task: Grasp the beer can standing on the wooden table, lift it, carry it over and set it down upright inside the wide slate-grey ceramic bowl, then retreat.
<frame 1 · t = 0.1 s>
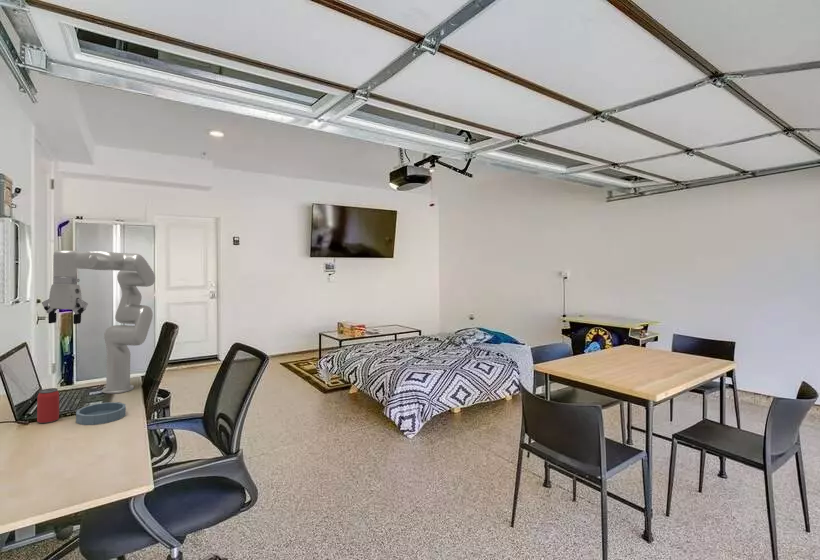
hand: (64, 323, 172), 37 cm above the table, tool pointing down, fingers open, 9 cm apart
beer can: (48, 421, 165), on the table
bowl: (101, 417, 170), on the table
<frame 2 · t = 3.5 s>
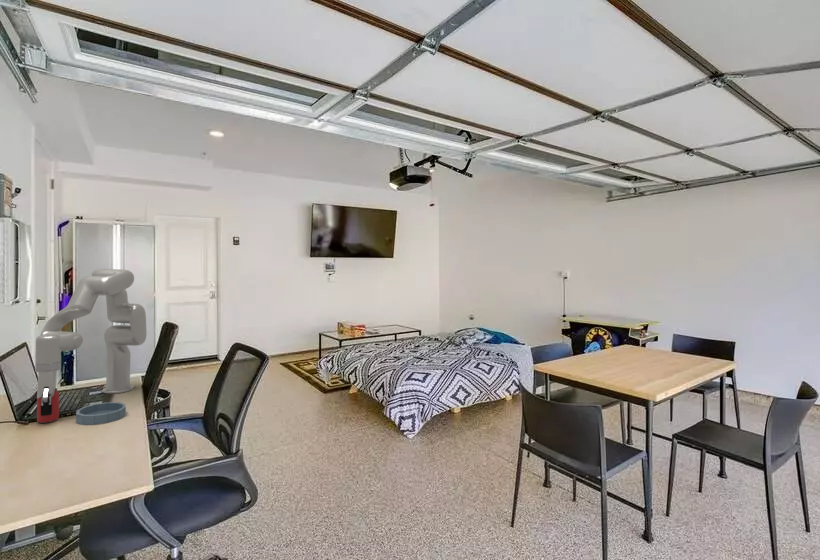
hand: (47, 411, 165), 3 cm above the table, tool pointing down, fingers closed on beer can, 6 cm apart
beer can: (48, 421, 165), on the table, touching gripper
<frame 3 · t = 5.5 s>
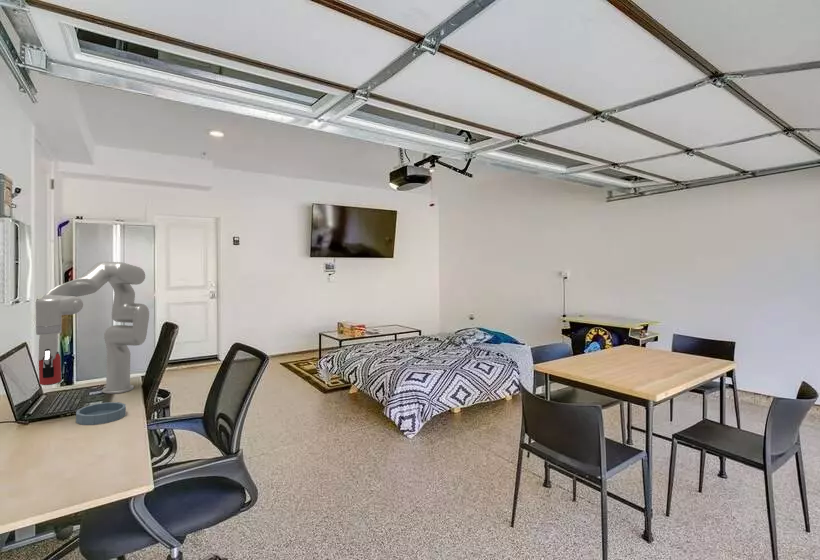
hand: (49, 374, 165), 18 cm above the table, tool pointing down, fingers closed on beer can, 6 cm apart
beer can: (50, 383, 166), point 14 cm above the table, touching gripper
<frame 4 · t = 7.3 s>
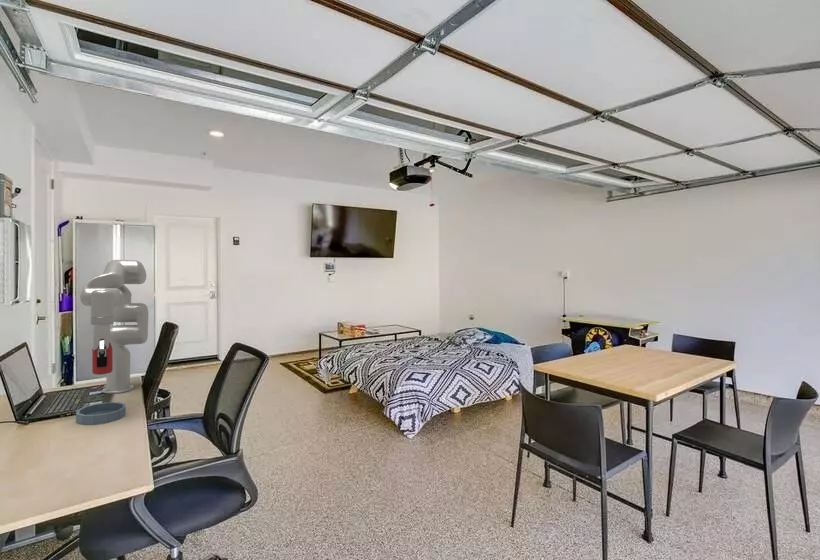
hand: (102, 364, 170), 21 cm above the table, tool pointing down, fingers closed on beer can, 6 cm apart
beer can: (102, 373, 170), point 18 cm above the table, touching gripper
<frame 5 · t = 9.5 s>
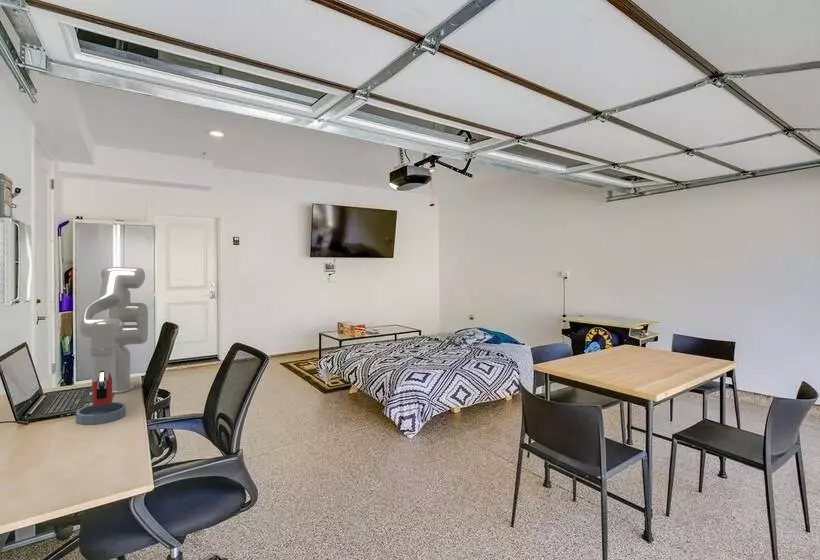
hand: (101, 395, 170), 9 cm above the table, tool pointing down, fingers closed on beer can, 6 cm apart
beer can: (102, 404, 170), point 5 cm above the table, touching gripper
when the fingers open (5 cm above the table, at t = 11.3 s): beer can stays where it is, resting on bowl.
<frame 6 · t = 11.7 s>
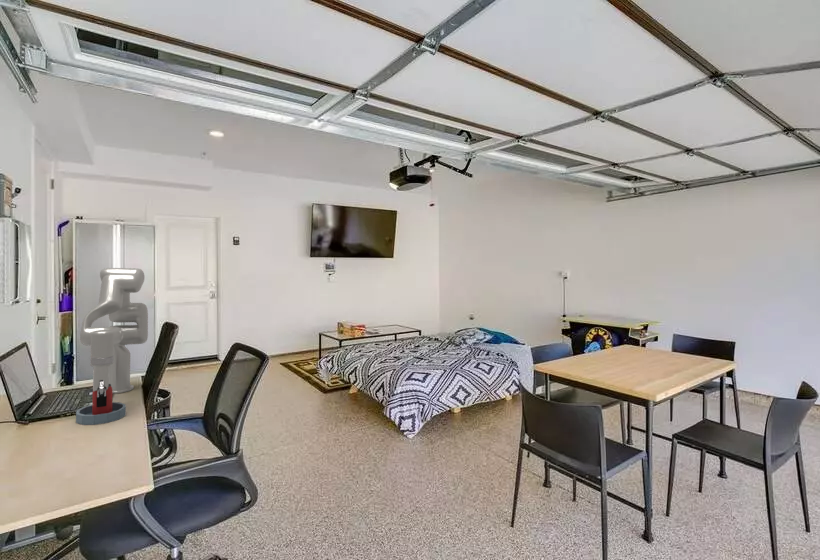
hand: (101, 403, 170), 6 cm above the table, tool pointing down, fingers open, 9 cm apart
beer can: (102, 415, 171), point 1 cm above the table, touching bowl
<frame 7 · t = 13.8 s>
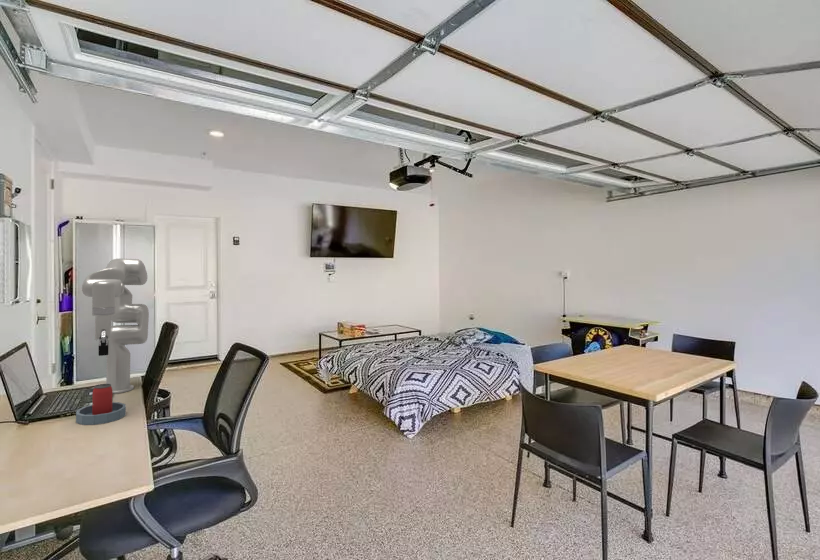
hand: (103, 352, 173), 25 cm above the table, tool pointing down, fingers open, 9 cm apart
nothing on the table moved.
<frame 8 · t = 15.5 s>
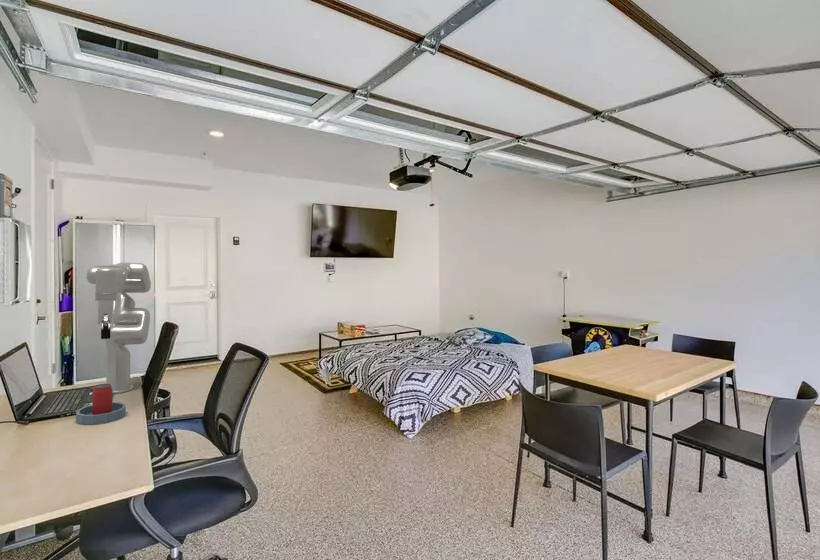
hand: (105, 336, 181), 30 cm above the table, tool pointing down, fingers open, 9 cm apart
nothing on the table moved.
at the end: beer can 0.3 cm from the bowl (horizontally); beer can tilted 0°; the gripper is holding nothing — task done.
